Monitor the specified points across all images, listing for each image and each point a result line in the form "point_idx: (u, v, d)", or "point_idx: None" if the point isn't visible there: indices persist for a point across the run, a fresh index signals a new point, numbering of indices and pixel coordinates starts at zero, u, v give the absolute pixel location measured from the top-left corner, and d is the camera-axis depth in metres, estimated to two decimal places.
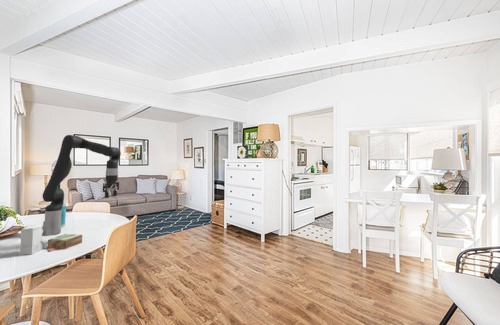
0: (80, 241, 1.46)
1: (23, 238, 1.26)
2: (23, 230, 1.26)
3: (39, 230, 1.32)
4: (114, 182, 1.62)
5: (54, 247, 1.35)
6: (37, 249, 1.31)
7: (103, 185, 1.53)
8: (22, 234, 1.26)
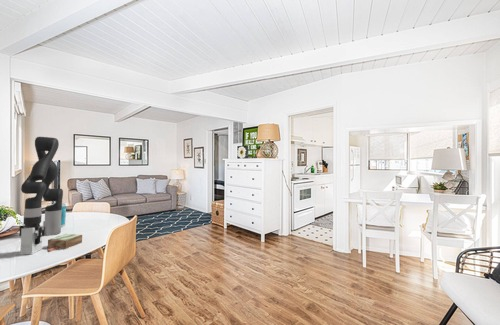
0: (80, 241, 1.46)
1: (23, 238, 1.26)
2: (23, 230, 1.26)
3: None
4: None
5: (54, 247, 1.35)
6: (37, 249, 1.31)
7: (41, 229, 1.29)
8: (22, 234, 1.26)
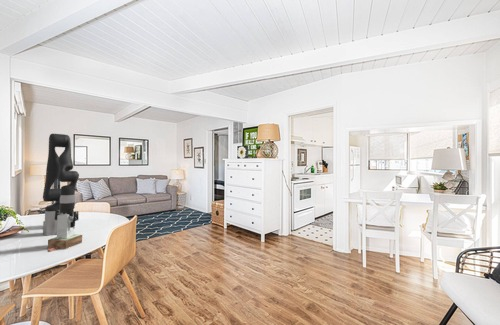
0: (80, 241, 1.46)
1: (59, 223, 1.38)
2: (59, 217, 1.38)
3: None
4: None
5: (54, 247, 1.35)
6: (71, 234, 1.43)
7: (75, 214, 1.41)
8: (58, 220, 1.38)
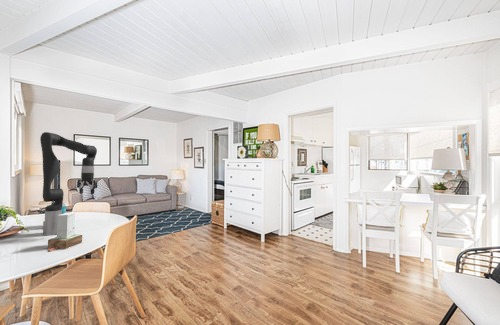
0: (80, 241, 1.46)
1: (59, 223, 1.38)
2: (59, 217, 1.38)
3: (72, 217, 1.45)
4: None
5: (54, 247, 1.35)
6: (71, 234, 1.43)
7: (95, 182, 1.63)
8: (58, 220, 1.38)
